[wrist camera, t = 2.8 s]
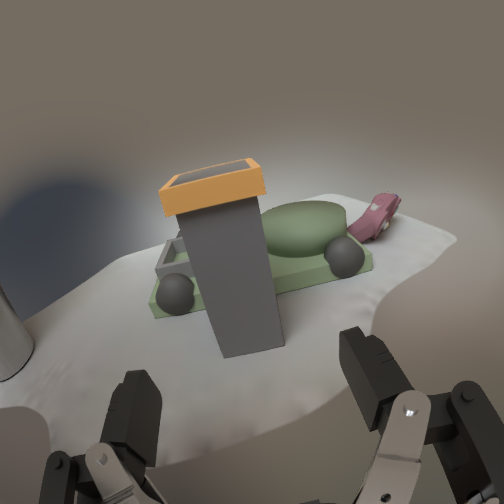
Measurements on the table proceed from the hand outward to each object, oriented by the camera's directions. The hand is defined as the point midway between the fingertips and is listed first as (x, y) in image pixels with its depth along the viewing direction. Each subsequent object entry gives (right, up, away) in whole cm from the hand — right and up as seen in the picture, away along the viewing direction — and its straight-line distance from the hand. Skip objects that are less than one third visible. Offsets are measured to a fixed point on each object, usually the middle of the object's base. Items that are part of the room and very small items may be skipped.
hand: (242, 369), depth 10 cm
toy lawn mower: (+1, +3, +25) cm, 25 cm away
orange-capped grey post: (0, -2, +13) cm, 14 cm away
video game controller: (+18, +7, +26) cm, 32 cm away
